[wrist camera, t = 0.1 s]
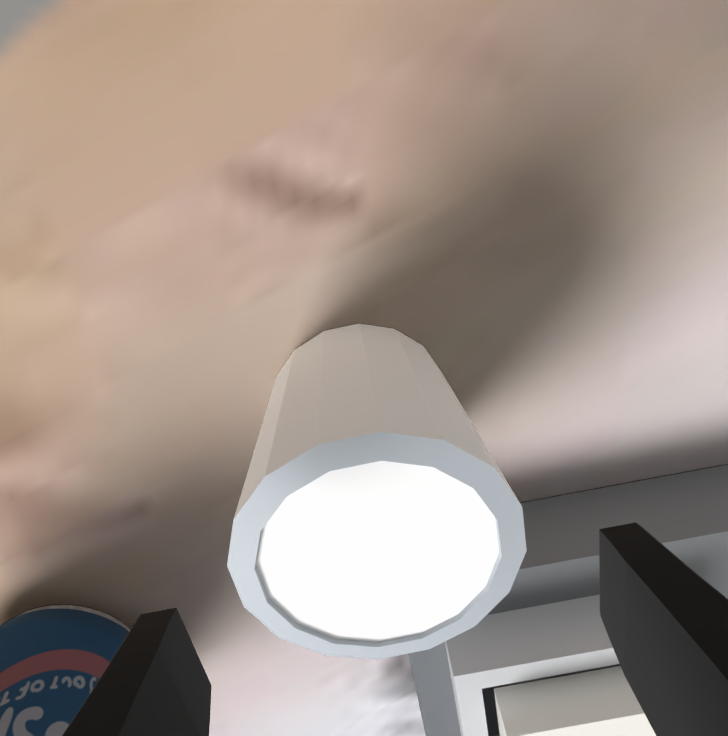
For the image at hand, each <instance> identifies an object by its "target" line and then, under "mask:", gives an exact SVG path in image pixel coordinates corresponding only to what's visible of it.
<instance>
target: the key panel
mask: <svg viewBox="0 0 728 736" xmlns="http://www.w3.org/2000/svg"><path fill="white" fill-rule="evenodd" d="M520 504H521V505H522V509H523V519H524V529H525V539H526V549H527V551H526V554H525V556H524V558H523V561H522V563H521V566H520V568H519V570H518V573H517V575H516V578H515V580H514V582H513V585H512V587H511V590H510V592H509V593H508V594H507V595H506V596H505V597H504V598H503V599H502V600H501V601H500V602H499V603H498V604H497V605H496V606H495V607H494V608H493V609H492V610H491V611H490V612H489V613H488V614H487V615H486V616H485V617H484V618H483V619H482V620H481V621H480V622H479V623H478V624H477V625H476V626H475V627H473V628H471V629H469V630H467V631H465V632H463V633H461V634H459V635H457V636H455V637H453V638H451V639H449V640H447V641H445V642H443V643H441V644H439V645H437V646H435V647H433V648H431V649H429V650H424V651H419V652H413V653H408V654H409V659H410V664H411V668H412V673H413V678H414V682H415V687H416V692H417V696H418V701H419V706H420V710H421V715H422V720H423V724H424V729H425V734H426V736H500V734H499V726H498V718H497V710H496V702H495V694H494V689H495V688H500V687H506V686H511V685H517V684H522V683H528V682H533V681H539V680H545V679H550V678H556V677H561V676H567V675H572V674H578V673H583V672H589V671H594V670H600V669H606V668H611V667H617V666H620V664H619V661H618V659H617V656H616V654H615V651H614V649H613V647H612V644H611V641H610V639H609V636H608V634H607V631H606V629H605V626H604V624H603V621H602V618H601V616H600V564H599V529H603V528H608V527H613V526H619V525H624V524H630V523H635V522H636V523H637V524H639V525H640V526H642V527H643V528H644V529H645V530H646V531H648V532H649V533H650V534H651V535H652V536H653V537H655V538H656V539H657V540H658V541H659V542H660V543H661V544H663V545H664V546H665V547H666V548H667V549H668V550H670V551H671V552H672V553H673V554H674V555H675V556H677V557H678V558H679V559H680V560H681V561H682V562H684V563H685V564H686V565H687V566H688V567H690V568H691V569H692V570H693V571H694V572H696V573H697V574H698V575H699V576H700V577H702V578H703V579H704V580H705V581H706V582H708V583H709V584H710V585H711V586H713V587H714V588H715V589H716V590H718V591H719V592H720V593H721V594H722V595H724V596H725V597H726V598H728V465H723V466H717V467H712V468H707V469H701V470H696V471H690V472H685V473H680V474H674V475H669V476H663V477H658V478H653V479H647V480H642V481H637V482H631V483H626V484H620V485H615V486H610V487H604V488H599V489H593V490H588V491H583V492H577V493H572V494H566V495H561V496H556V497H550V498H545V499H539V500H534V501H529V502H523V503H520Z"/></svg>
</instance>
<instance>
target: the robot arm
mask: <svg viewBox="0 0 728 736" xmlns="http://www.w3.org/2000/svg"><path fill="white" fill-rule="evenodd" d="M599 564H600V616H601V618H602V621H603V624H604V626H605V629H606V631H607V634H608V636H609V639H610V641H611V644H612V647H613V649H614V651H615V654H616V656H617V659H618V661H619V664H620V666H621V668H622V671H623V673H624V675H625V677H626V679H627V681H628V683H629V685H630V687H631V689H632V691H633V693H634V695H635V696H636V698H637V700H638V702H639V704H640V706H641V708H642V710H643V712H644V714H645V715H646V717H647V719H648V721H649V723H650V725H651V727H652V729H653V730H654V732H655V734H656V736H728V598H726V597H725V596H724V595H722V594H721V593H720V592H719V591H718V590H716V589H715V588H714V587H713V586H711V585H710V584H709V583H708V582H706V581H705V580H704V579H703V578H702V577H700V576H699V575H698V574H697V573H696V572H694V571H693V570H692V569H691V568H690V567H688V566H687V565H686V564H685V563H684V562H682V561H681V560H680V559H679V558H678V557H677V556H675V555H674V554H673V553H672V552H671V551H670V550H668V549H667V548H666V547H665V546H664V545H663V544H661V543H660V542H659V541H658V540H657V539H656V538H655V537H653V536H652V535H651V534H650V533H649V532H648V531H646V530H645V529H644V528H643V527H642V526H640V525H639V524H637V523H636V522H635V523H630V524H624V525H619V526H613V527H608V528H603V529H599ZM210 703H211V684H210V682H209V679H208V677H207V675H206V673H205V670H204V668H203V666H202V664H201V662H200V659H199V657H198V655H197V653H196V651H195V648H194V646H193V644H192V642H191V639H190V637H189V635H188V633H187V631H186V628H185V626H184V624H183V622H182V620H181V617H180V615H179V613H178V611H177V608H173V609H167V610H162V611H157V612H151V613H146V614H141V615H140V617H139V618H138V619H137V621H136V622H135V624H134V625H133V627H132V629H131V630H130V632H129V633H128V635H127V636H126V638H125V639H124V641H123V643H122V644H121V646H120V647H119V649H118V650H117V652H116V654H115V655H114V657H113V658H112V660H111V661H110V663H109V665H108V666H107V668H106V669H105V671H104V672H103V674H102V676H101V677H100V679H99V680H98V682H97V683H96V685H95V687H94V688H93V690H92V691H91V693H90V694H89V696H88V697H87V699H86V700H85V702H84V703H83V705H82V706H81V708H80V709H79V711H78V712H77V714H76V715H75V717H74V718H73V720H72V721H71V723H70V724H69V726H68V727H67V729H66V730H65V732H64V733H63V735H62V736H209V723H210Z"/></svg>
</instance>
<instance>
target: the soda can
mask: <svg viewBox="0 0 728 736" xmlns="http://www.w3.org/2000/svg"><path fill="white" fill-rule="evenodd" d="M130 630H131V629H130V628H129V627H128V626H126V625H125V624H124V623H122V622H121V621H119V620H118V619H116V618H114V617H112V616H110V615H108V614H106V613H103V612H101V611H98V610H94V609H91V608H86V607H81V606H73V605H51V606H44V607H39V608H35V609H32V610H29V611H26V612H24V613H22V614H20V615H18V616H16V617H14V618H13V619H11V620H9V621H7V622H6V623H4V624H2V625H1V626H0V736H62V735H63V733H64V732H65V730H66V729H67V727H68V726H69V724H70V723H71V721H72V720H73V718H74V717H75V715H76V714H77V712H78V711H79V709H80V708H81V706H82V705H83V703H84V702H85V700H86V699H87V697H88V696H89V694H90V693H91V691H92V690H93V688H94V687H95V685H96V683H97V682H98V680H99V679H100V677H101V676H102V674H103V672H104V671H105V669H106V668H107V666H108V665H109V663H110V661H111V660H112V658H113V657H114V655H115V654H116V652H117V650H118V649H119V647H120V646H121V644H122V643H123V641H124V639H125V638H126V636H127V635H128V633H129V632H130Z"/></svg>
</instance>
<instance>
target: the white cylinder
mask: <svg viewBox="0 0 728 736" xmlns="http://www.w3.org/2000/svg"><path fill="white" fill-rule="evenodd" d="M526 551H527V549H526V539H525V529H524V519H523V509H522V505H521V504H520V502H519V500H518V499H517V497H516V495H515V494H514V492H513V490H512V489H511V487H510V485H509V484H508V482H507V480H506V479H505V477H504V475H503V474H502V472H501V470H500V469H499V467H498V465H497V464H496V462H495V460H494V459H493V457H492V455H491V454H490V452H489V450H488V449H487V447H486V445H485V444H484V442H483V440H482V439H481V437H480V435H479V434H478V432H477V430H476V429H475V427H474V425H473V424H472V422H471V420H470V419H469V417H468V415H467V414H466V412H465V410H464V409H463V407H462V405H461V404H460V402H459V400H458V399H457V397H456V395H455V394H454V392H453V390H452V389H451V387H450V385H449V384H448V382H447V380H446V379H445V377H444V375H443V374H442V372H441V370H440V369H439V368H438V366H437V365H436V363H435V362H434V360H433V359H432V358H431V356H430V355H429V353H428V352H427V350H426V349H425V348H424V346H422V345H421V344H419V343H417V342H416V341H414V340H412V339H411V338H409V337H407V336H406V335H404V334H402V333H401V332H399V331H397V330H396V329H392V328H386V327H379V326H373V325H366V324H360V323H359V324H354V325H349V326H344V327H340V328H335V329H330V330H325V331H323V332H321V333H320V334H318V335H317V336H315V337H313V338H312V339H310V340H309V341H307V342H306V343H304V344H303V345H301V346H300V347H298V348H296V349H295V350H294V351H293V353H292V354H291V356H290V357H289V358H288V360H287V361H286V363H285V364H284V366H283V367H282V369H281V370H280V372H279V373H278V375H277V376H276V379H275V382H274V385H273V389H272V392H271V395H270V399H269V402H268V405H267V409H266V412H265V416H264V419H263V422H262V426H261V429H260V432H259V436H258V439H257V442H256V446H255V449H254V452H253V456H252V459H251V462H250V466H249V469H248V472H247V476H246V479H245V483H244V486H243V489H242V493H241V496H240V499H239V503H238V506H237V509H236V513H235V516H234V519H233V526H232V533H231V540H230V547H229V555H228V562H227V567H228V569H229V572H230V574H231V577H232V579H233V582H234V584H235V587H236V589H237V592H238V594H239V597H240V599H241V602H242V604H243V607H244V608H246V609H247V610H248V611H249V612H250V613H251V614H252V615H253V616H255V617H256V618H257V619H258V620H259V621H260V622H261V623H262V624H264V625H265V626H266V627H267V628H268V629H269V630H270V631H271V632H273V633H274V634H275V635H276V636H277V637H278V638H281V639H283V640H286V641H288V642H291V643H293V644H296V645H299V646H301V647H304V648H306V649H309V650H312V651H314V652H317V653H319V654H322V655H325V656H336V657H350V658H363V659H376V660H377V659H383V658H388V657H393V656H398V655H403V654H408V653H413V652H419V651H424V650H429V649H431V648H433V647H435V646H437V645H439V644H441V643H443V642H445V641H447V640H449V639H451V638H453V637H455V636H457V635H459V634H461V633H463V632H465V631H467V630H469V629H471V628H473V627H475V626H476V625H477V624H478V623H479V622H480V621H481V620H482V619H483V618H484V617H485V616H486V615H487V614H488V613H489V612H490V611H491V610H492V609H493V608H494V607H495V606H496V605H497V604H498V603H499V602H500V601H501V600H502V599H503V598H504V597H505V596H506V595H507V594H508V593H509V592H510V590H511V587H512V585H513V582H514V580H515V578H516V575H517V573H518V570H519V568H520V566H521V563H522V561H523V558H524V556H525V554H526Z"/></svg>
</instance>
